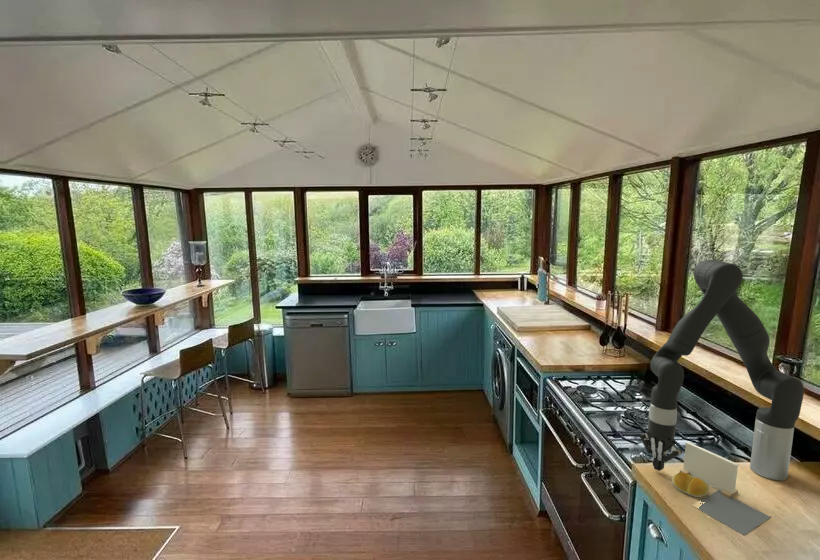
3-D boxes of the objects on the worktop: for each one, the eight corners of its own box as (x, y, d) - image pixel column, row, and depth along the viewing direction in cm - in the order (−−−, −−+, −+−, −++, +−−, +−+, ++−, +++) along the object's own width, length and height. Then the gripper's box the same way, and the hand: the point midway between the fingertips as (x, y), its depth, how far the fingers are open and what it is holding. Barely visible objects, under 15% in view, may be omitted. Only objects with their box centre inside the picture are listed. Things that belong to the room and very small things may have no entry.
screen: (688, 468, 137) (691, 440, 136) (737, 493, 125) (741, 462, 123) (679, 473, 135) (682, 444, 134) (728, 498, 123) (732, 467, 121)
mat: (718, 490, 126) (718, 489, 126) (770, 517, 115) (770, 516, 115) (691, 505, 120) (691, 504, 120) (743, 535, 109) (743, 534, 109)
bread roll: (703, 502, 121) (704, 489, 121) (668, 487, 128) (669, 475, 127) (712, 490, 126) (713, 477, 126) (678, 476, 133) (679, 465, 133)
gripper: (691, 424, 129) (686, 476, 132) (649, 407, 141) (645, 455, 143) (676, 430, 126) (671, 484, 128) (635, 412, 137) (631, 461, 140)
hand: (657, 469), depth 136 cm, fingers closed
